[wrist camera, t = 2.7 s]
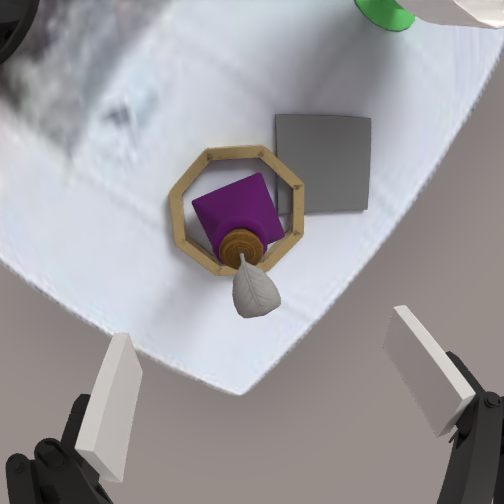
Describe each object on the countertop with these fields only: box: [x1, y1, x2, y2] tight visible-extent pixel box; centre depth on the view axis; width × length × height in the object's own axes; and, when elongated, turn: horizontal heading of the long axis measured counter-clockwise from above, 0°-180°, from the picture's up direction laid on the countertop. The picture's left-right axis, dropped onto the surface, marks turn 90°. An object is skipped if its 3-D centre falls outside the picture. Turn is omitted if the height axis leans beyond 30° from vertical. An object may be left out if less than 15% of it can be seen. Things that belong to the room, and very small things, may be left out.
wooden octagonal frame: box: [169, 145, 304, 276], centre depth 33 cm, size 14×14×2 cm
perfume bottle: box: [192, 173, 285, 318], centre depth 26 cm, size 8×8×18 cm
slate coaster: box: [275, 114, 371, 214], centre depth 32 cm, size 11×11×1 cm
